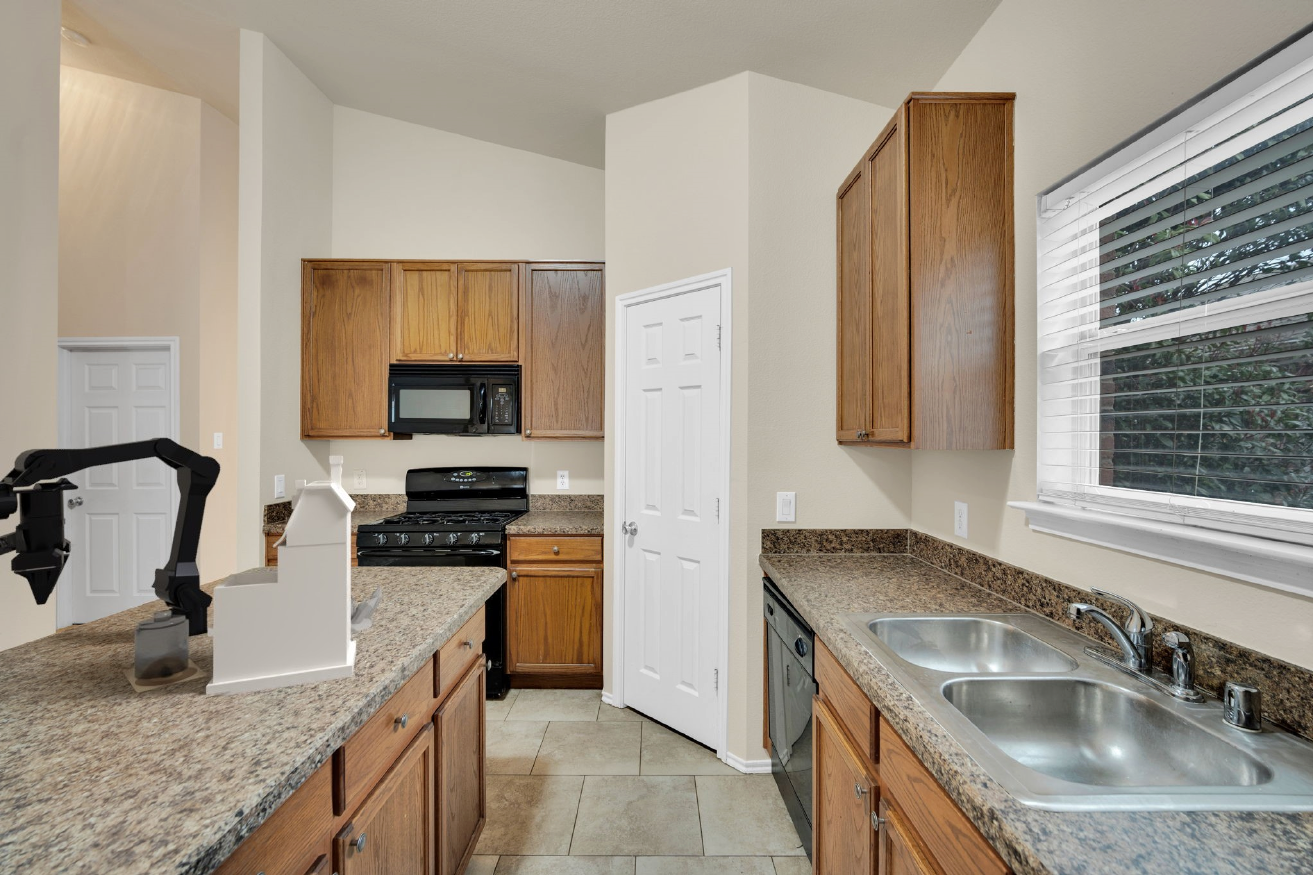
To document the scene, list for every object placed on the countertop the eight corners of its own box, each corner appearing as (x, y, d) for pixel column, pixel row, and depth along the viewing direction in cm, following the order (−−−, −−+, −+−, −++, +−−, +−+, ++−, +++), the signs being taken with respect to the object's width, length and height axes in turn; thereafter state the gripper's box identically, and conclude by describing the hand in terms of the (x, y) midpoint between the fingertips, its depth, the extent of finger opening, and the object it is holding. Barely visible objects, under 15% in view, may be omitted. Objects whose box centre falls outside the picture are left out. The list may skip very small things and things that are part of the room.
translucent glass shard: (387, 626, 136) (387, 561, 136) (322, 637, 128) (322, 568, 128) (377, 616, 144) (377, 554, 144) (315, 626, 136) (315, 561, 136)
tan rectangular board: (187, 659, 115) (187, 656, 115) (206, 678, 106) (206, 674, 106) (122, 674, 108) (122, 670, 108) (137, 696, 99) (137, 692, 99)
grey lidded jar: (183, 660, 113) (183, 603, 113) (193, 669, 108) (193, 610, 108) (130, 671, 107) (131, 612, 108) (138, 682, 103) (139, 620, 103)
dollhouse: (356, 649, 121) (356, 454, 121) (352, 676, 107) (352, 456, 107) (228, 666, 112) (229, 455, 112) (206, 698, 98) (206, 457, 98)
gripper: (-13, 515, 112) (-11, 597, 112) (-35, 526, 97) (-33, 620, 98) (70, 509, 119) (72, 586, 119) (60, 519, 105) (62, 606, 105)
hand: (44, 599), depth 110 cm, fingers open, 9 cm apart
